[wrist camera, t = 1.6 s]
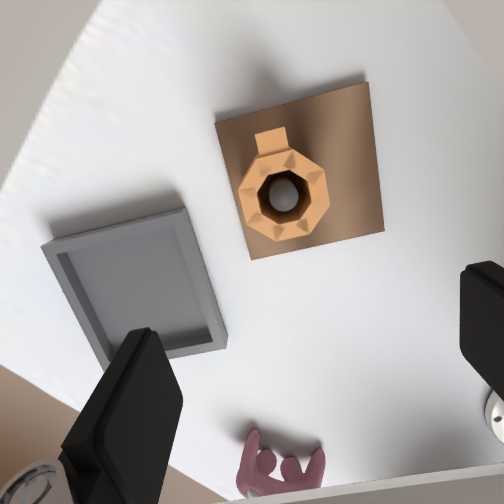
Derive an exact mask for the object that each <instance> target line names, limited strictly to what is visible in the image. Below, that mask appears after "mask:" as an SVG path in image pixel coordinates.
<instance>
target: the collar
mask: <svg viewBox="0 0 504 504" xmlns="http://www.w3.org/2000/svg"><path fill="white" fill-rule="evenodd" d="M255 138H256V142H257V147H258V151H259V153H257V155H256V156H255V158H254V160H253V161H252V163H251V165H250V167H249V168H248V170H247V172H246V173H245V175H244V177H243V179H242V180H241V183H240V186H239V189H238V194H239V197H240V201H241V205H242V209H243V213H244V216H245V220H246V224H247V225H248V226H250V227H252V228H254V229H255V230H257V231H259V232H260V233H262V234H264V235H265V236H267V237H269V238H271V239H272V240H274V241H276V242H277V241H281V240H286V239H290V238H294V237H299V236H303V235H308V234H310V233H311V232H312V230H313V229H314V227H315V226H316V224H317V223H318V222H319V220H320V219H321V217H322V216H323V214H324V213H325V212H326V210H327V209H328V207H329V206H330V201H329V195H328V189H327V183H326V177H325V171H324V169H323V168H321V167H320V166H318V165H317V164H316V163H314V162H313V161H311V160H309V159H308V158H306V157H305V156H303V155H302V154H300V153H299V152H297V151H296V150H294V149H292V148H291V147H289V146H288V141H287V136H286V131H285V127H281V128H277V129H273V130H270V131H266V132H262V133H258V134H255ZM286 170H291V171H293V172H294V173H296V174H297V175H299V176H300V177H301V180H302V186H303V190H302V192H301V193H300V195H299V196H298V201H297V204H296V205H295V206H294V207H293V208H292V209H291V210H288V211H279V210H277V209H275V208H274V207H273V206H272V205H270V204H268V203H267V202H265V201H263V200H262V199H261V196H260V191H259V189H260V187H261V185H262V184H263V182H264V180H265V179H266V177H267V175H269V174H273V173H277V172H281V171H286Z"/></svg>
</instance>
